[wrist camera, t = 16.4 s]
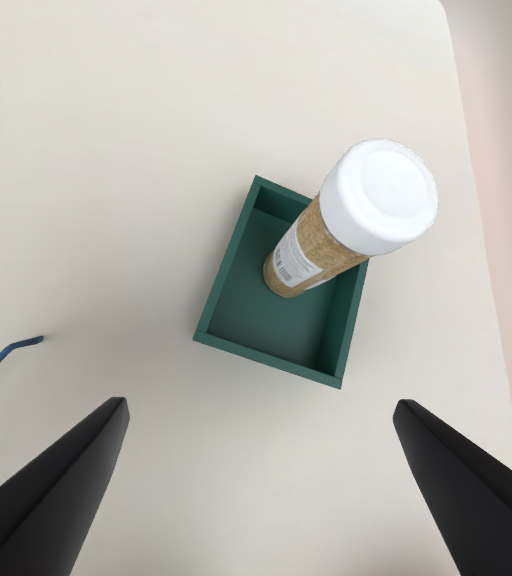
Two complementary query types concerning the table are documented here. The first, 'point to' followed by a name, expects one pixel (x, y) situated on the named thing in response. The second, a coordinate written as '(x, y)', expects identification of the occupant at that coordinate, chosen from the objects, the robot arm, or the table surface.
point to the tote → (279, 297)
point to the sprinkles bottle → (355, 216)
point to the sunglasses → (8, 349)
